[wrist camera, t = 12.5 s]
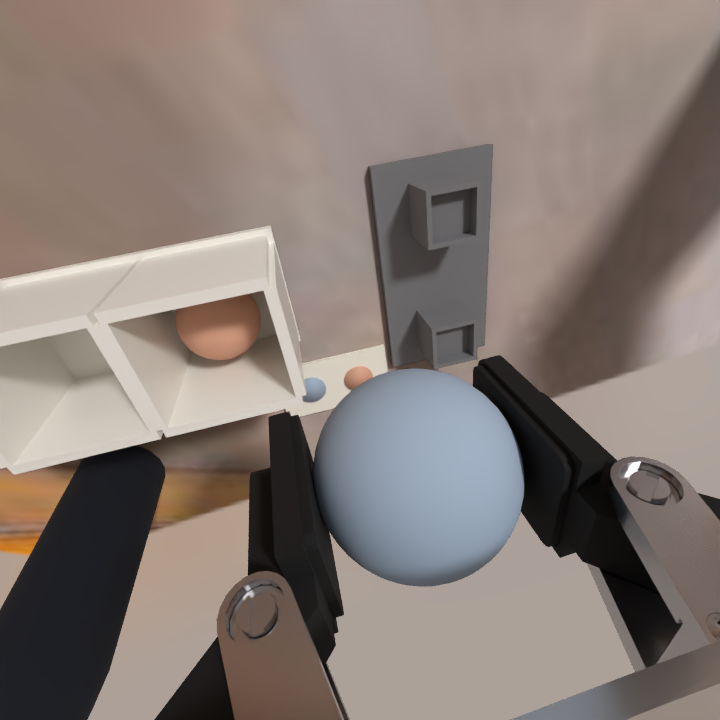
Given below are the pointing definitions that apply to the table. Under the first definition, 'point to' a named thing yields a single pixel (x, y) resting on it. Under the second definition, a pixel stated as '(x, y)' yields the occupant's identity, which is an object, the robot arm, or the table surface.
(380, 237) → the ball stand
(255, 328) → the terracotta ball
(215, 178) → the table surface
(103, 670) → the wine bottle
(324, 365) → the card
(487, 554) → the slate ball
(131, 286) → the two-slot cubby shelf
